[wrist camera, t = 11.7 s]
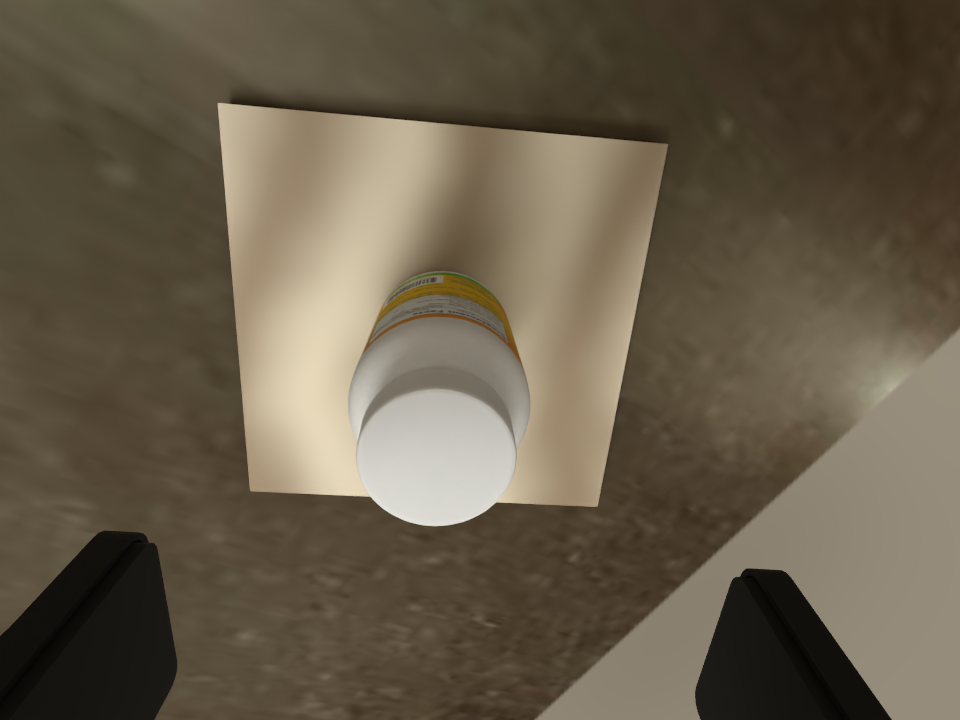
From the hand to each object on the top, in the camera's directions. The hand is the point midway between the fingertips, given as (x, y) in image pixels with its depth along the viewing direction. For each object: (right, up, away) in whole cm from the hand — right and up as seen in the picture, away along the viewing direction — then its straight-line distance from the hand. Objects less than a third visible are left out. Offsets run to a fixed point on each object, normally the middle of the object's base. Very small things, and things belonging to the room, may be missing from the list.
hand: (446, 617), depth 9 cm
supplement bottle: (-1, +5, +14) cm, 15 cm away
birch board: (-1, +6, +14) cm, 16 cm away
